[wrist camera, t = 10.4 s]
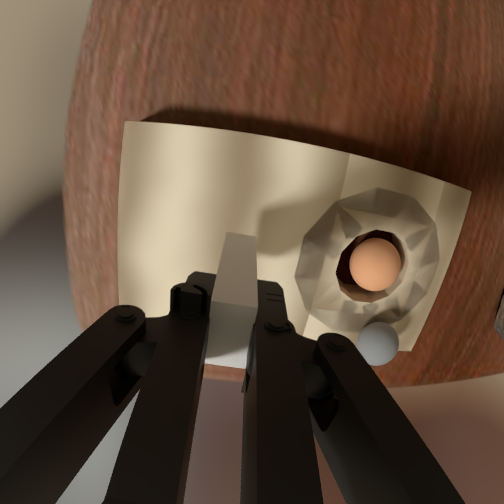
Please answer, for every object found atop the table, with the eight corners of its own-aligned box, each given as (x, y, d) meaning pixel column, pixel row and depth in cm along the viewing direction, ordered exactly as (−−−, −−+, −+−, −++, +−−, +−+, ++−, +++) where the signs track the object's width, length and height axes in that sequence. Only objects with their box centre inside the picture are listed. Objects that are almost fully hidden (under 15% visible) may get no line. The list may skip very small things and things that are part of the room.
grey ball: (345, 327, 21) (356, 355, 18) (383, 306, 20) (399, 331, 17) (359, 353, 22) (370, 381, 19) (394, 334, 21) (409, 359, 18)
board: (131, 300, 22) (120, 318, 20) (139, 121, 18) (125, 120, 15) (399, 332, 24) (410, 350, 22) (452, 183, 19) (471, 191, 17)
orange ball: (336, 246, 21) (346, 269, 18) (379, 221, 20) (396, 239, 17) (357, 284, 22) (369, 310, 19) (398, 260, 21) (415, 283, 18)
